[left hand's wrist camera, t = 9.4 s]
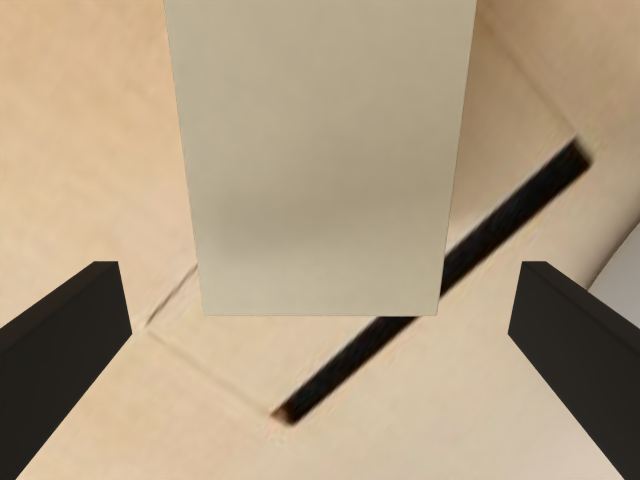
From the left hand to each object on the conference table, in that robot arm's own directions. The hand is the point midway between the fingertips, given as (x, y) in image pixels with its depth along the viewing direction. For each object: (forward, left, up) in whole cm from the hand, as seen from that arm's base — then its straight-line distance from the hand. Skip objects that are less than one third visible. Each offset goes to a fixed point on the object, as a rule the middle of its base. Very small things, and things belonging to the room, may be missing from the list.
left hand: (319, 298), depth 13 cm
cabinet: (+6, -1, -15) cm, 16 cm away
